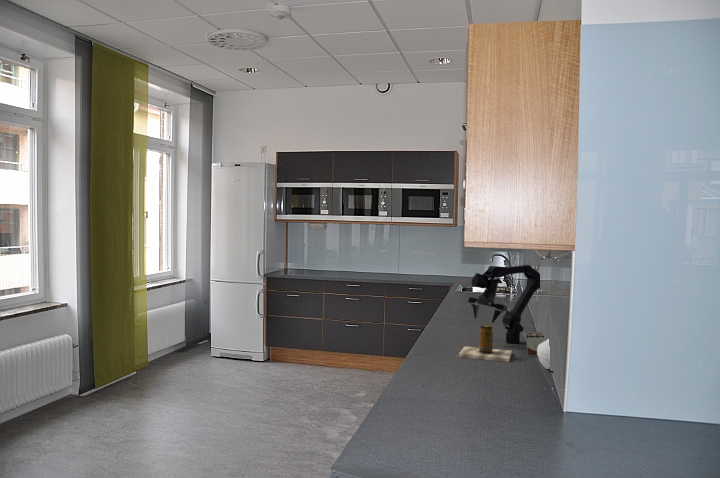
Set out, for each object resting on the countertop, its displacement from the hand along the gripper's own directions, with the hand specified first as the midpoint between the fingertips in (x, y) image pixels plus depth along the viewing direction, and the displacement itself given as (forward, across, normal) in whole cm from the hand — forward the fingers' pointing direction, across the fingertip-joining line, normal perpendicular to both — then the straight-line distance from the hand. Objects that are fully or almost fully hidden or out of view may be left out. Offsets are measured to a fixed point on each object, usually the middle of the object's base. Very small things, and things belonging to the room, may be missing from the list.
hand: (483, 320), depth 279 cm
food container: (+9, +29, -2) cm, 31 cm away
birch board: (+14, +11, -19) cm, 26 cm away
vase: (+11, +46, -25) cm, 53 cm away
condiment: (+13, +12, -19) cm, 26 cm away
